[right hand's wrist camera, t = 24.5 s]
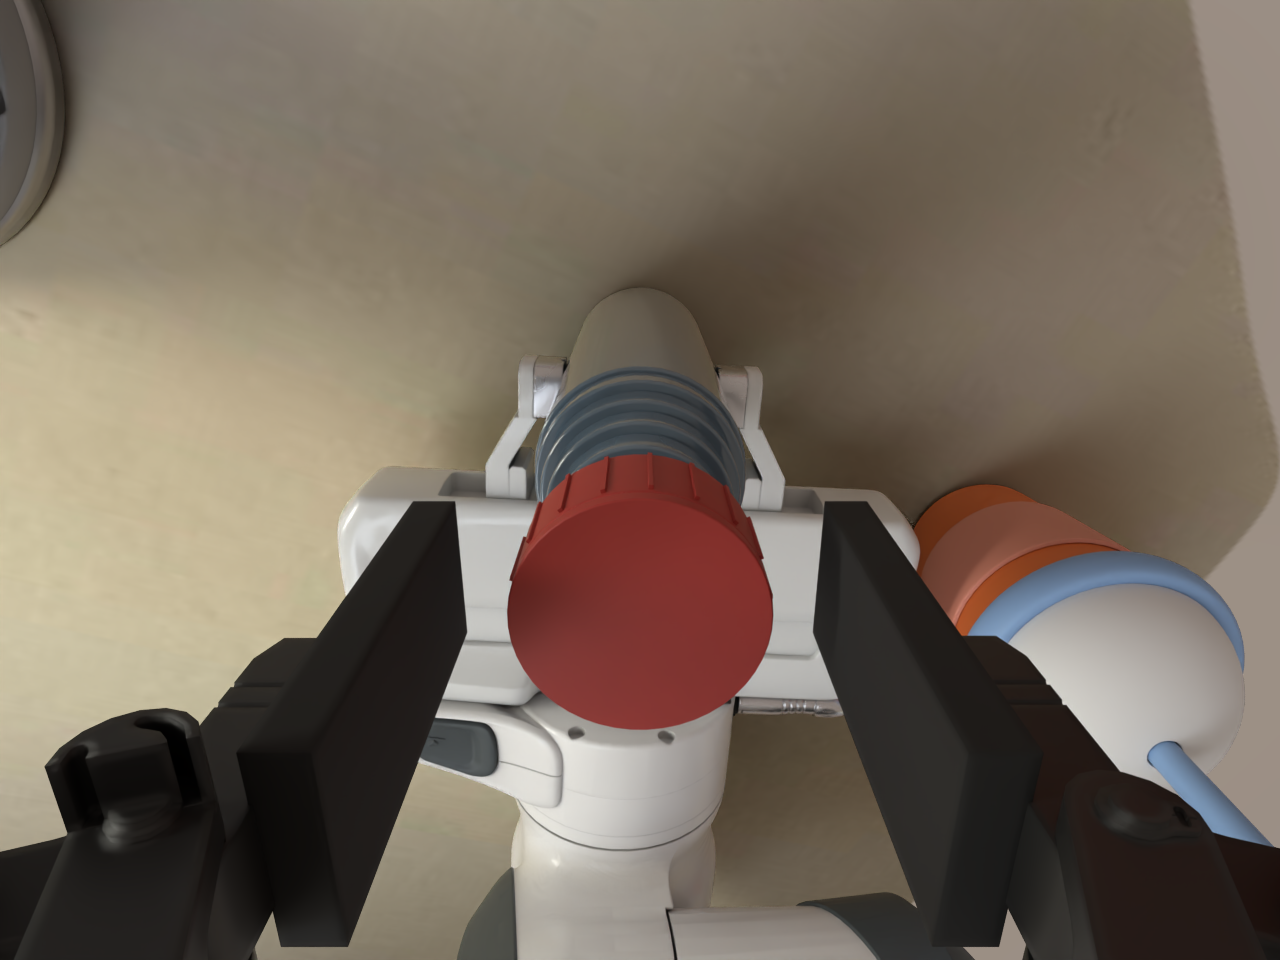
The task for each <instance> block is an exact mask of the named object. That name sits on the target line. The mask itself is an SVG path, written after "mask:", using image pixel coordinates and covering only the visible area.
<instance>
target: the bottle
mask: <svg viewBox="0 0 1280 960" xmlns="http://www.w3.org/2000/svg"><path fill="white" fill-rule="evenodd" d="M648 452H649V453H652V455H657V456H664V457H668V458H672V459H676V460H680V461H683V462H685V463H688V464H689V463H690V462H691V463H694V465H695V467H697V468H699V469H700V470H702V471H704V472H706V473H707V474H709V475H710V476H712V477H713V478H714V479H716V480H717V481H718V482H720V483H721V484H722V485H723V486H725V485H727V486H728V487H729V490H730V493H731V494H732V495H733V497H734V498H735V499H736V501H737V502H738V503H739V504H740V506H741V505H742V502H743V497H744V492H745V481H746V473H745V471H746V459H745V450H744V445H743V441H742V437H741V434H740V432H739V429H738V427H737V424H736V422H735V419H734V416H733V414H732V411H731V409H730V406H729V404H728V401H727V399H726V396H725V393H724V391H723V388H722V386H721V383H720V381H719V378H718V376H717V373H716V371H715V368H714V365H713V363H712V360H711V358H710V355H709V353H708V350H707V348H706V345H705V343H704V340H703V337H702V335H701V332H700V330H699V327H698V325H697V323H696V321H695V319H694V317H693V316H692V314H691V313H690V311H689V310H688V309H687V308H686V307H685V306H684V305H683V304H682V303H681V302H680V301H678V300H677V299H676V298H674V297H672V296H671V295H669V294H667V293H665V292H662V291H659V290H656V289H651V288H629V289H625V290H621V291H618V292H616V293H613V294H611V295H609V296H608V297H606V298H604V299H603V300H602V301H601V302H599V303H598V304H597V305H596V306H595V307H594V308H593V309H592V310H591V312H590V313H589V314H588V316H587V317H586V319H585V321H584V323H583V325H582V328H581V330H580V333H579V335H578V338H577V341H576V343H575V346H574V348H573V351H572V353H571V356H570V358H569V361H568V364H567V366H566V369H565V371H564V374H563V376H562V379H561V381H560V384H559V387H558V389H557V392H556V394H555V397H554V399H553V402H552V404H551V407H550V410H549V412H548V415H547V417H546V420H545V422H544V425H543V428H542V430H541V433H540V435H539V438H538V442H537V447H536V451H535V463H534V465H535V490H536V496H537V501H538V503H539V501H540V502H543V501H544V500H545V498H546V497H547V496H548V495H549V494H550V492H551V491H552V490H553V489H554V488H555V487H557V486H558V485H559V484H560V483H561V482H562V481H563V480H565V476H566V475H567V474H569V473H570V475H572V474H573V473H575V472H576V471H578V470H580V469H582V468H584V467H586V466H588V465H590V464H593V463H595V462H598V461H601V460H604V457H607V456H609V458H612V457H616V456H624V455H633V454H645V455H647V454H648Z"/></svg>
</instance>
